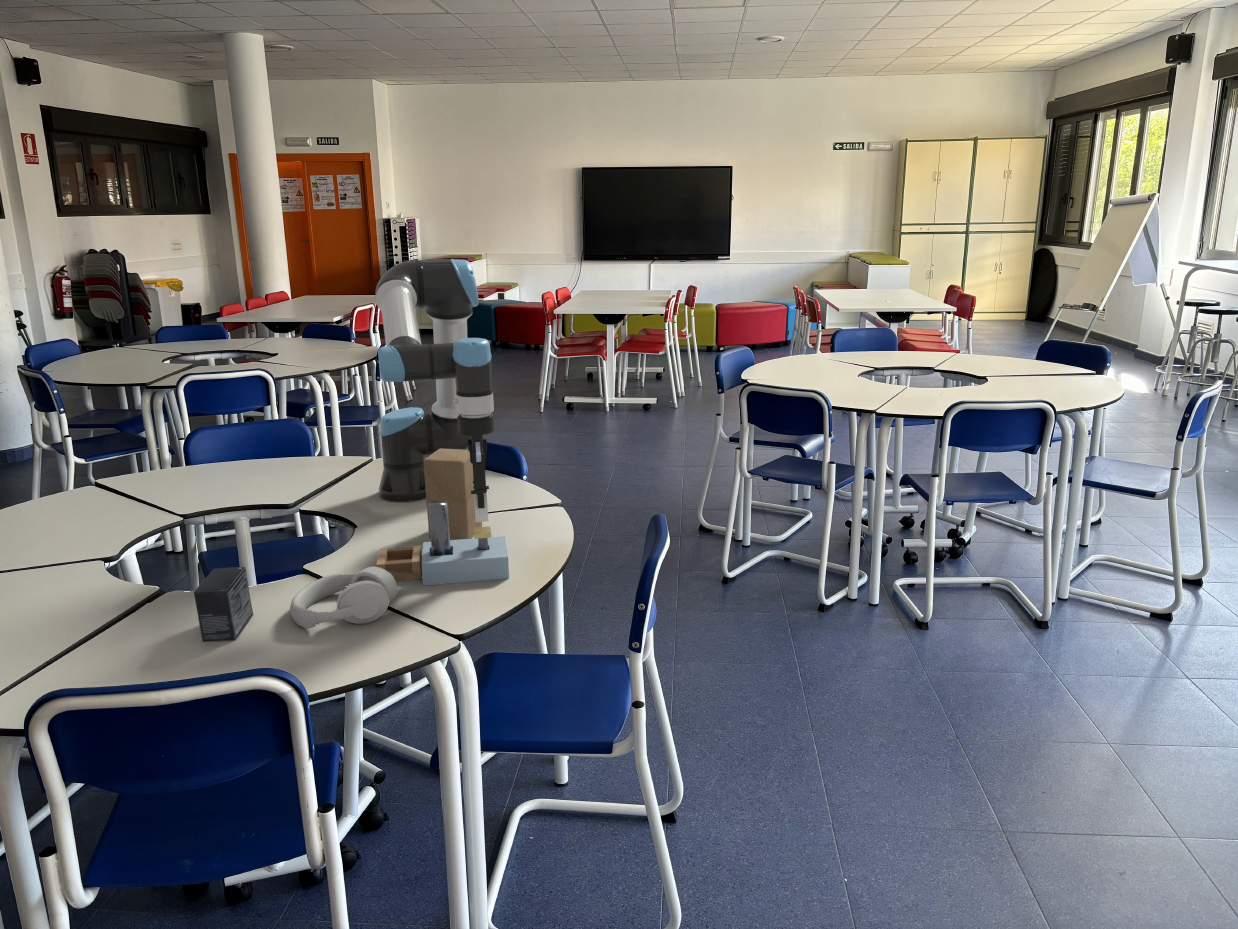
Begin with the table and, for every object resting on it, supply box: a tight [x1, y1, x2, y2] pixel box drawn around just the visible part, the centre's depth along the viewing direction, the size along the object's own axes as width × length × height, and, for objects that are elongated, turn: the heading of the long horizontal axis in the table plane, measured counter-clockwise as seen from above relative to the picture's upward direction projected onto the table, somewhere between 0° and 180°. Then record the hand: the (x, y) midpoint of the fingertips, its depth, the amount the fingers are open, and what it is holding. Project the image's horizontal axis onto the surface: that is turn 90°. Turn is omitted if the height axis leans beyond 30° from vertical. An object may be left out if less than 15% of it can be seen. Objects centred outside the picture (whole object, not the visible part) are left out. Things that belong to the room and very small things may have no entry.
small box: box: [193, 566, 254, 643], centre depth 163 cm, size 11×6×10 cm, turn 5°
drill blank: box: [428, 500, 451, 556], centre depth 186 cm, size 4×4×16 cm
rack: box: [375, 545, 423, 582], centre depth 188 cm, size 9×9×4 cm
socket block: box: [421, 535, 510, 586], centre depth 189 cm, size 12×18×5 cm, turn 101°
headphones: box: [289, 566, 398, 629], centre depth 170 cm, size 18×8×20 cm
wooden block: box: [423, 448, 483, 540], centre depth 208 cm, size 10×10×20 cm
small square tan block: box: [473, 526, 492, 551], centre depth 188 cm, size 4×4×6 cm
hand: (481, 520), depth 186 cm, fingers closed
